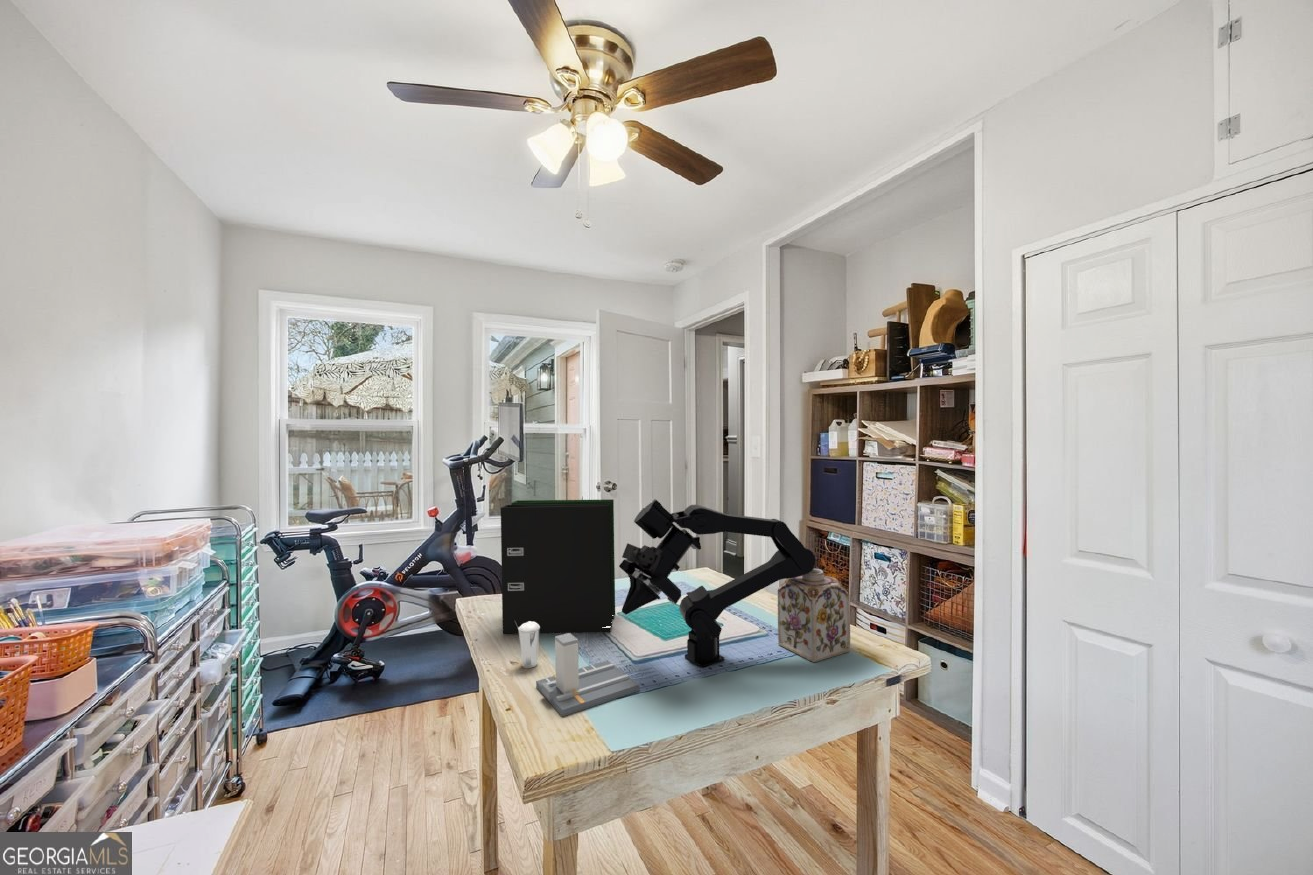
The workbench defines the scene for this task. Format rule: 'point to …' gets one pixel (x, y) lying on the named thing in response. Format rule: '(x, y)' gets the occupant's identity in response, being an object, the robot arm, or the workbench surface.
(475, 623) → the workbench surface
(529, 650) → the milkshake
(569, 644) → the fader tab
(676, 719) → the workbench surface
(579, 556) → the binder
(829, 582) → the decorative jar
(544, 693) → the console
